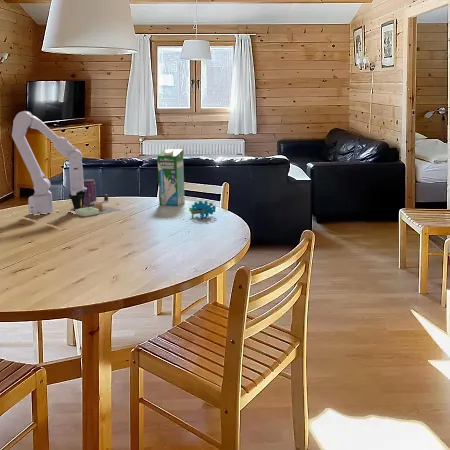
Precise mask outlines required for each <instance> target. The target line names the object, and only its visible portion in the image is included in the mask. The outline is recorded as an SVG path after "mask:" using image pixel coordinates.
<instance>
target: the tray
mask: <svg viewBox="0 0 450 450" xmlns="http://www.w3.org/2000/svg"><path fill="white" fill-rule="evenodd" d="M74 210H75V213H76V216H79V217H84V218H87V217H86V216H89V217H93V216H92V215H94V216H98V214H99V209H96V208H92V207H87V208H86V207H83V208H81V209H74Z"/></svg>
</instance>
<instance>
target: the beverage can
mask: <svg viewBox="0 0 450 450" xmlns="http://www.w3.org/2000/svg"><path fill="white" fill-rule="evenodd" d="M83 179H84V178H83ZM96 185H97V184H96V181H95V179H94V178H85V179H84V188H87V189H86V190H82V191H86V194H85V197H84V202H83V205H85V206H84V207H86V206H87V203H88V202H93V201H97V190H96Z"/></svg>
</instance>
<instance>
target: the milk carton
mask: <svg viewBox="0 0 450 450" xmlns="http://www.w3.org/2000/svg"><path fill="white" fill-rule="evenodd" d="M184 169H185V167H184V149H183V148H182V149H179V148H177V149H176V148H164V149H163V150H162V151H161V152H160V153H159V154H158V155H157V175H158V177H157V178H158V200H159V201H158V202H159V203H158V205H159V206H166V207H167V206H168V207H179V206H181V205H183V204H184V203H186V201H185V200H186V199H185V198H186V197H185V175H184V174H185V172H184Z"/></svg>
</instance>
